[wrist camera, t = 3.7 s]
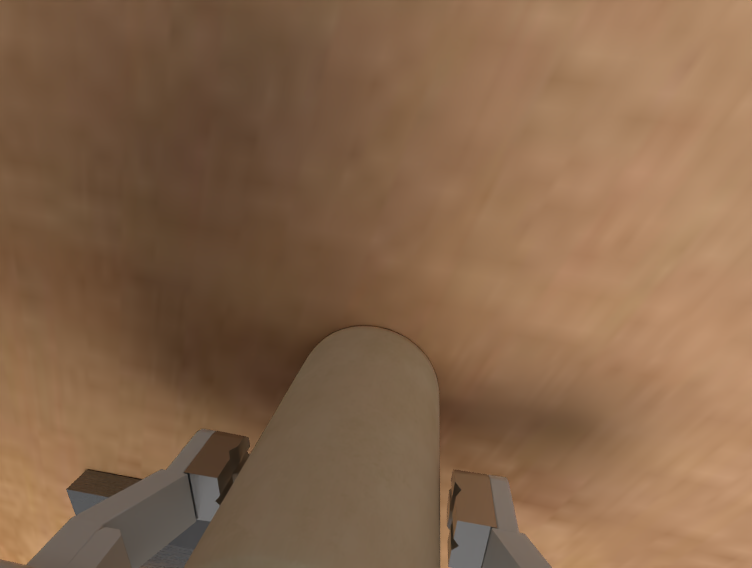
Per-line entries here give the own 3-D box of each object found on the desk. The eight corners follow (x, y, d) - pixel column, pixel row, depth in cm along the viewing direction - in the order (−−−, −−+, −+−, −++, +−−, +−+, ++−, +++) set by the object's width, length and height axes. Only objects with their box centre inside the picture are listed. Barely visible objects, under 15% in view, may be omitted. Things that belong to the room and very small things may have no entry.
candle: (383, 458, 17) (314, 863, 7) (280, 386, 16) (66, 729, 7) (469, 382, 14) (523, 816, 5) (355, 295, 14) (190, 617, 5)
